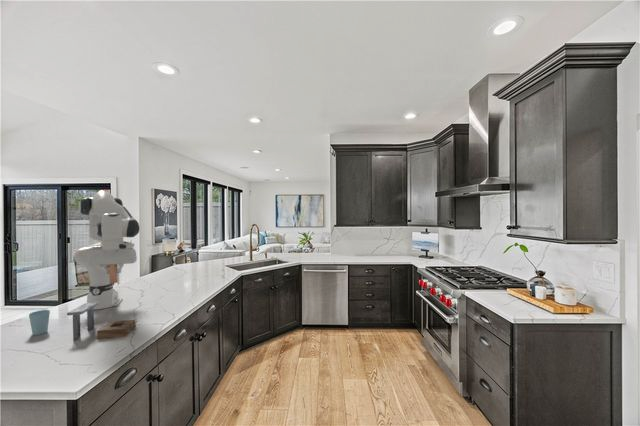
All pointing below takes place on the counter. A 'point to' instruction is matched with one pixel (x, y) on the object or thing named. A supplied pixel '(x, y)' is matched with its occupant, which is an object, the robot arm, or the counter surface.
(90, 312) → the grey u-shaped bracket
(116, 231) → the robot arm
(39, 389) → the counter surface
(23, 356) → the counter surface
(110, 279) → the peg
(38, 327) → the cup
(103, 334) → the socket
